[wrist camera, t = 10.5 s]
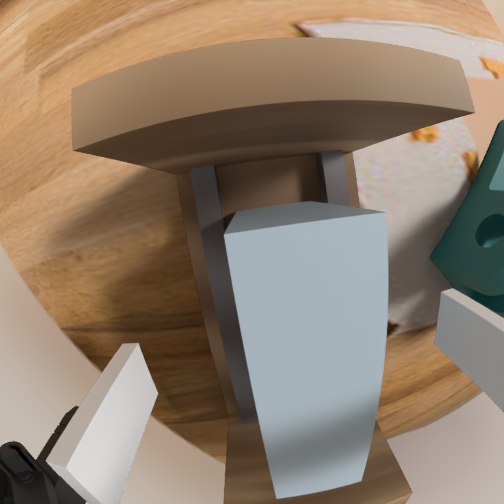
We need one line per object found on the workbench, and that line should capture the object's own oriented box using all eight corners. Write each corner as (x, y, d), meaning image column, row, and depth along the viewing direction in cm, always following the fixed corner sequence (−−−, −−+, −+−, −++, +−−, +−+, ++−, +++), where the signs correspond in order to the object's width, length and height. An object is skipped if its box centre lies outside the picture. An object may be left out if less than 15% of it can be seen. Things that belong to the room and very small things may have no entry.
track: (176, 149, 15) (71, 89, 5) (342, 129, 15) (459, 60, 5) (233, 419, 19) (228, 538, 9) (355, 398, 19) (405, 503, 9)
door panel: (236, 211, 15) (223, 234, 6) (308, 200, 15) (385, 212, 6) (265, 389, 18) (276, 498, 9) (322, 379, 18) (361, 481, 9)
